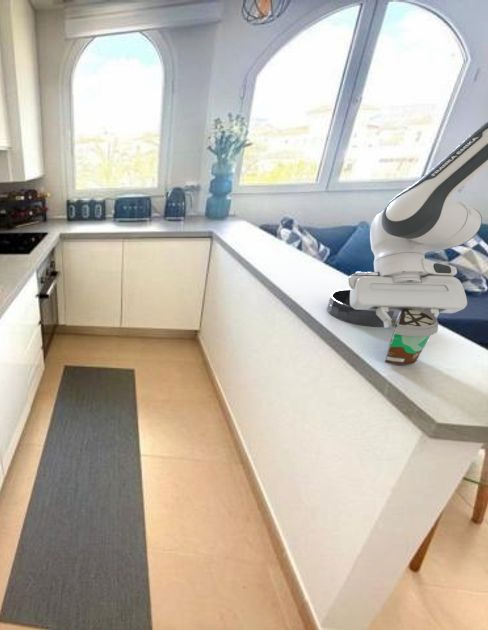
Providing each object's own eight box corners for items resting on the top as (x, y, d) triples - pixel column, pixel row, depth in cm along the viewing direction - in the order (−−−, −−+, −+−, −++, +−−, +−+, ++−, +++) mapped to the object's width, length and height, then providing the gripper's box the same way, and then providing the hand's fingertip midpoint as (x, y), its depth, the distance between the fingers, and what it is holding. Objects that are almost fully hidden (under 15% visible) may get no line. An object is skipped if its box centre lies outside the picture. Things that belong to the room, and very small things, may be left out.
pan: (379, 304, 102) (384, 290, 100) (409, 328, 89) (416, 313, 87) (318, 301, 106) (322, 288, 104) (339, 324, 93) (343, 309, 91)
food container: (422, 375, 71) (440, 333, 67) (383, 365, 75) (397, 325, 71) (425, 349, 79) (442, 310, 74) (390, 341, 83) (403, 303, 78)
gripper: (354, 266, 81) (361, 321, 76) (465, 267, 75) (479, 327, 71) (341, 277, 86) (347, 329, 82) (443, 279, 81) (455, 335, 76)
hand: (409, 328), depth 76 cm, fingers closed on food container, 5 cm apart
